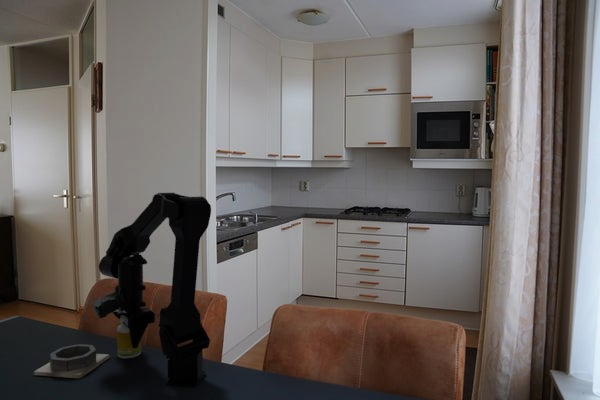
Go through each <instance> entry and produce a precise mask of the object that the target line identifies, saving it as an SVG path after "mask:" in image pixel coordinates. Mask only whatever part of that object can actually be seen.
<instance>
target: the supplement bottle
mask: <svg viewBox="0 0 600 400" xmlns="http://www.w3.org/2000/svg"><path fill="white" fill-rule="evenodd" d="M124 315H125V314H124ZM124 315H122V316H120V319H119V322H120V324H119V325H118V326H117V328H116V329H117V331H116V333H117V334H116V335H117V337H116V338H117V356H118V357H119V358H120V359H133V358H136V357H138V356H139V355H141V353H142V339H141V340H140V343H139V345H138V347H137V348H132V343H131V338H130V333H129V328H128V327H126V326H125V325H124V324H123V323H122V322H124Z"/></svg>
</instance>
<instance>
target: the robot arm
mask: <svg viewBox="0 0 600 400" xmlns="http://www.w3.org/2000/svg"><path fill="white" fill-rule="evenodd" d="M211 215H212V205H211V204H210V203H209V201H208V199H206V197H204V196H189V195H188V196H187V195H182V194H178V193H175V192H158V193H155V194H154V195H153V196H152V200H151V202H150V203H149V204H148V205H147V206H146V208H145V209H144V210H142V212H141V213H140V214H139V216H138V217H136V218H135V220H134V221H133V222H132V223H131V224H130V225H127V226H125V227H122V228H121V229H119V230H118V231H116V232H115V233H114V235H112V236H113V237H112V239H111V242H110V244H109V246H108V248H107V250H106V251H105V255H104V256H103V257H102V258H101V259H100V261H99V264H98V271H99V273H100V274H102V275H103V276H104V277H105V276H106V277H109V278H113V279H116V280H117V284H116V285H115V287H114V291H113V292H112V293H109V294H106V295H105V296H103V297H100V298H99V299H96V300H94V301H93V302H91V305H92V308H93V310H94V312H95V314H96V316H97V317H98V318H99V319H104V318H106V317H107V316H108V315H110V314H113V315H114V316H115V318H117V319H118V320H120V316H122V315H124V314H125V315H124V322H122V323H123V324H124V325H125V326H126V327H128V328H129V333H130V338H131V343H132V348H137V347H138V345H139V343H140V340H141V341H142V337H143V336H144V334H145V332H146V330H147V329H148V325H149V324H153V323H154V324H155V322H156V313H155V312H154V311H152V310H151V309H149V307H146V306H147V302H146V301H145V300H144V291H146V290H147V289H146V285H145V284H144V268H143V267H144V266H143V265H147V264H148V261H147V260H146V258H144V257H143V255H142V254H141V253H144V252H145V251H146V249H147V248H148V246H149V245H150V243H151V239H150V237H151V235H153V233H154V232H155V231H156V230H157V229H158V228H159V227H160V226H161V225H162V223H164V222H165V220H166V219H168V226H169V228H170V230H171V232H172V233H173V235H174V238H175V239H174V240H175V241H174V256H173V268H172V269H173V270H172V278H171V279H172V280H171V282H172V283H171V293H170V294H171V295H170V303H169V305H168V306H166V307H162V308H160V311H159V323H158V328H159V330H158V336H159V341H160V346H161V349H162V354H163V355H164V356H165V359H167V378H168V379H167V381H166V382H165V385H166V386H178V387H179V386H180V387H191V388H193V387H195V388H196V386H197V385H199V383H200V382H201V381H202V379H203V378H204V377H205V375H206V372H207V371H205V370H204V368H203V367H204V365H203V363H204V362H203V359H204V358H203V353H204V352H203V350H205V349H208V348H209V347H210V344H211V338H210V337H209V335H208V333H207V331H206V330H205V328H204V326H203V324H202V319H201V318H202V317H201V316H202V315H201V313H200V311H199V309H198V307H197V306H196V304H195V301H196V299H195V298H196V288H197V276H198V266H199V265H198V263H199V254H200V253H199V252H200V241H201V238H202V237H203V235H204V234H205V232H206V231H207V229H208V227H209V224H210V220H211ZM189 341H190V342H189ZM186 342H187V343H186ZM183 343H184V344H183Z"/></svg>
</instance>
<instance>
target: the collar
mask: <svg viewBox="0 0 600 400" xmlns="http://www.w3.org/2000/svg"><path fill="white" fill-rule="evenodd" d="M108 359H110V354H105V353H97V349H96V347H95V346H94V345H93V344H82V343H81V344H80V343H78V344H74V345H69V346H68V345H67V346H63V347H60V348H57V350H54V351H53V352H51V353H50V354H49V362H48V363H46V364H44V365H43V366H41V367H39V368H37V369H35V370H34V371H33V376H42V377H43V376H45V377H54V378H55V377H56V378H70V379H81V378H83V377H85V376H86V375H88V373H90V372H92V371H93V370H94V369H96V368H97V367H99V366H100V365H102V364H103V363H104V362H106V361H107V360H108Z"/></svg>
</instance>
